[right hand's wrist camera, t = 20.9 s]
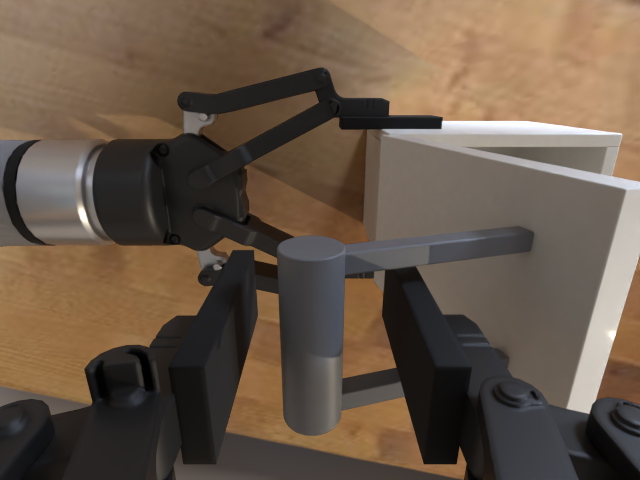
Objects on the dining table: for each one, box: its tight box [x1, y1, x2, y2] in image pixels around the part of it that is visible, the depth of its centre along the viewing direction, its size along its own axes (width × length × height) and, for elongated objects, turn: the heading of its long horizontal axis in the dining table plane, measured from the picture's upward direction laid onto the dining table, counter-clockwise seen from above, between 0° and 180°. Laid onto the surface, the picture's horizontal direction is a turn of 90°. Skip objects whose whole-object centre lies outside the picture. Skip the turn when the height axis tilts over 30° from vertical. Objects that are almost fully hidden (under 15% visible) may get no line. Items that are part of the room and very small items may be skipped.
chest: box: [363, 121, 622, 242], centre depth 30 cm, size 14×9×11 cm
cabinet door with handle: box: [277, 134, 640, 436], centre depth 16 cm, size 14×9×9 cm
